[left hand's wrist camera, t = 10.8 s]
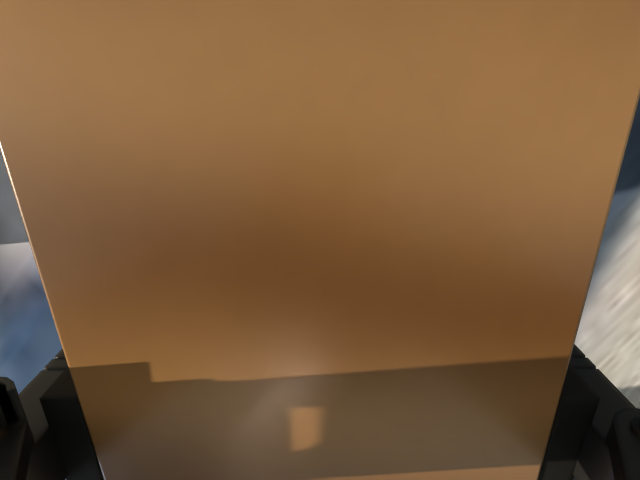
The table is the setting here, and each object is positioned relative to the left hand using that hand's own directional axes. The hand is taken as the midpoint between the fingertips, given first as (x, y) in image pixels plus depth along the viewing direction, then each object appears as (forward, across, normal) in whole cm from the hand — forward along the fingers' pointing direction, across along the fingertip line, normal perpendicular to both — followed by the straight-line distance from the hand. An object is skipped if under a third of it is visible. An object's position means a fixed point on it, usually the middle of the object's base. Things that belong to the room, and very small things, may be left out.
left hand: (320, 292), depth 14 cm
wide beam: (+1, 0, -22) cm, 22 cm away
